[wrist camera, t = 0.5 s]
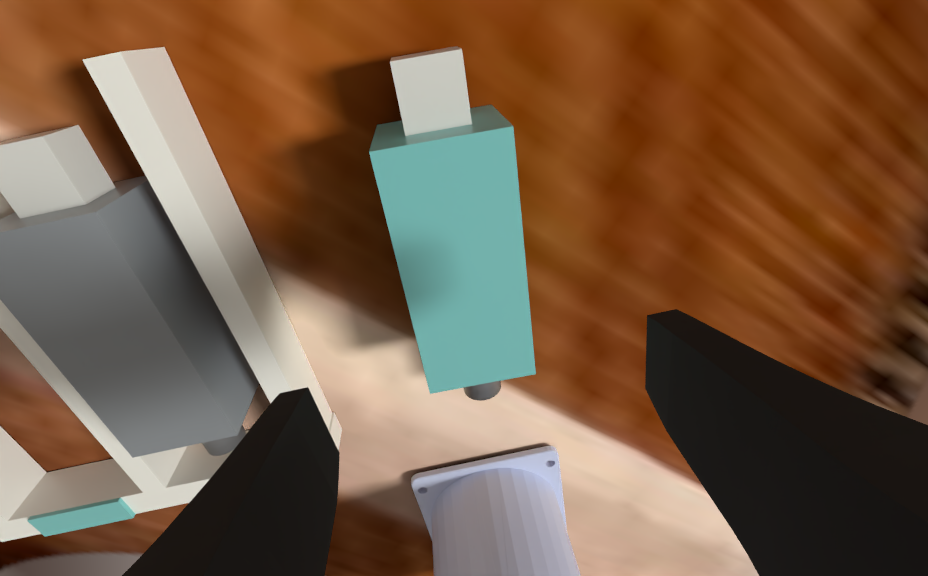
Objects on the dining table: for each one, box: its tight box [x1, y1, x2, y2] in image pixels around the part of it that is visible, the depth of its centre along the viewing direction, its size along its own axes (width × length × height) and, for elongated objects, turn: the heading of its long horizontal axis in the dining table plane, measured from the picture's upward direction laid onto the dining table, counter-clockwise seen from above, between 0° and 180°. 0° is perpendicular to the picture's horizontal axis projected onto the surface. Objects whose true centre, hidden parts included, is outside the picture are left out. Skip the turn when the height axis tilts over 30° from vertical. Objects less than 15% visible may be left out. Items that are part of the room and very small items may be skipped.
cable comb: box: [0, 47, 342, 542], centre depth 17 cm, size 17×15×3 cm
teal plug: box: [369, 46, 536, 400], centre depth 17 cm, size 13×4×4 cm, turn 9°
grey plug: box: [0, 125, 259, 458], centre depth 17 cm, size 13×4×4 cm, turn 10°
